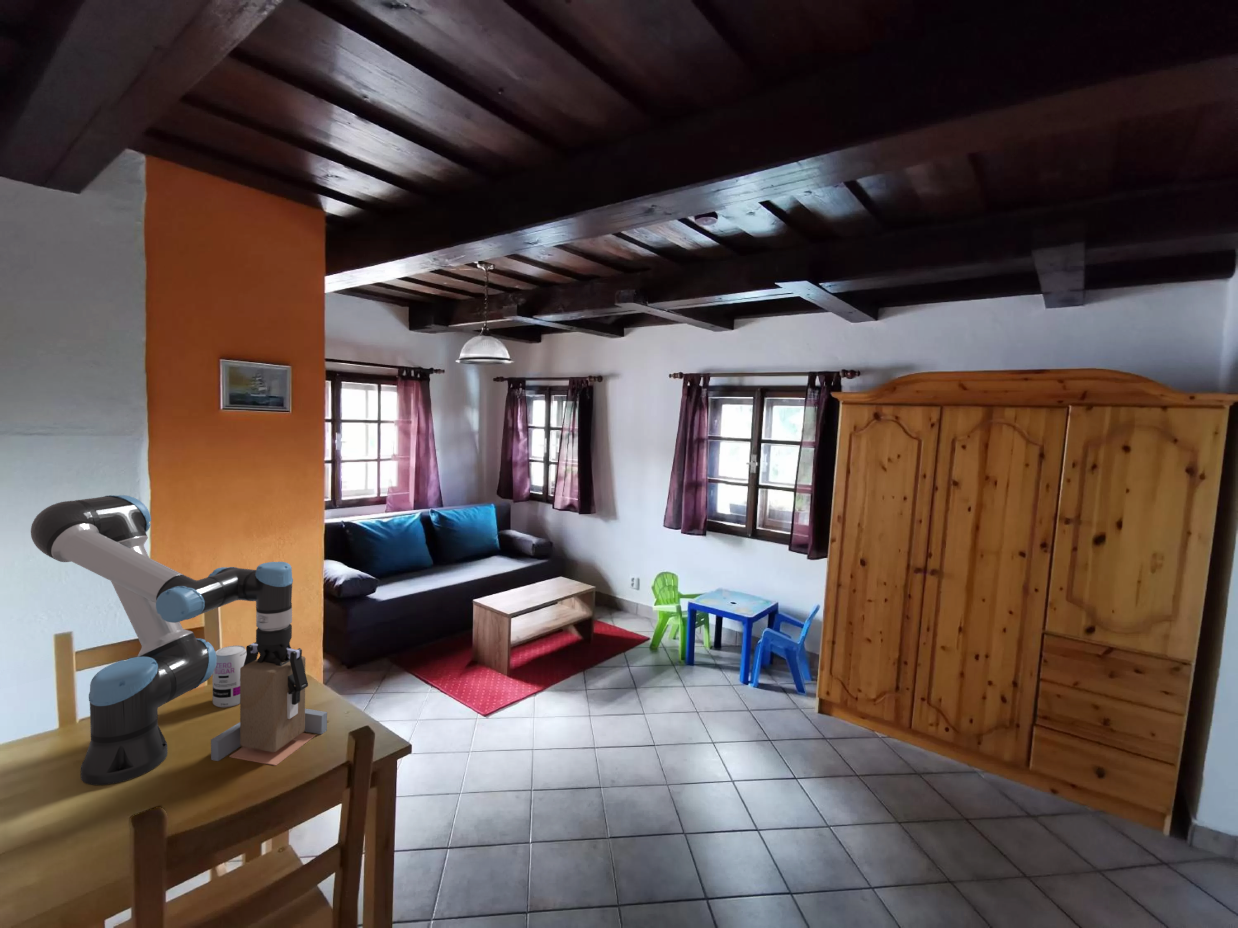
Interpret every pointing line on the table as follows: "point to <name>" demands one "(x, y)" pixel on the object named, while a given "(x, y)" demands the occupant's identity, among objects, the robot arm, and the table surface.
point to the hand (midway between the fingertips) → (273, 712)
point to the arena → (231, 742)
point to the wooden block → (268, 706)
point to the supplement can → (228, 676)
